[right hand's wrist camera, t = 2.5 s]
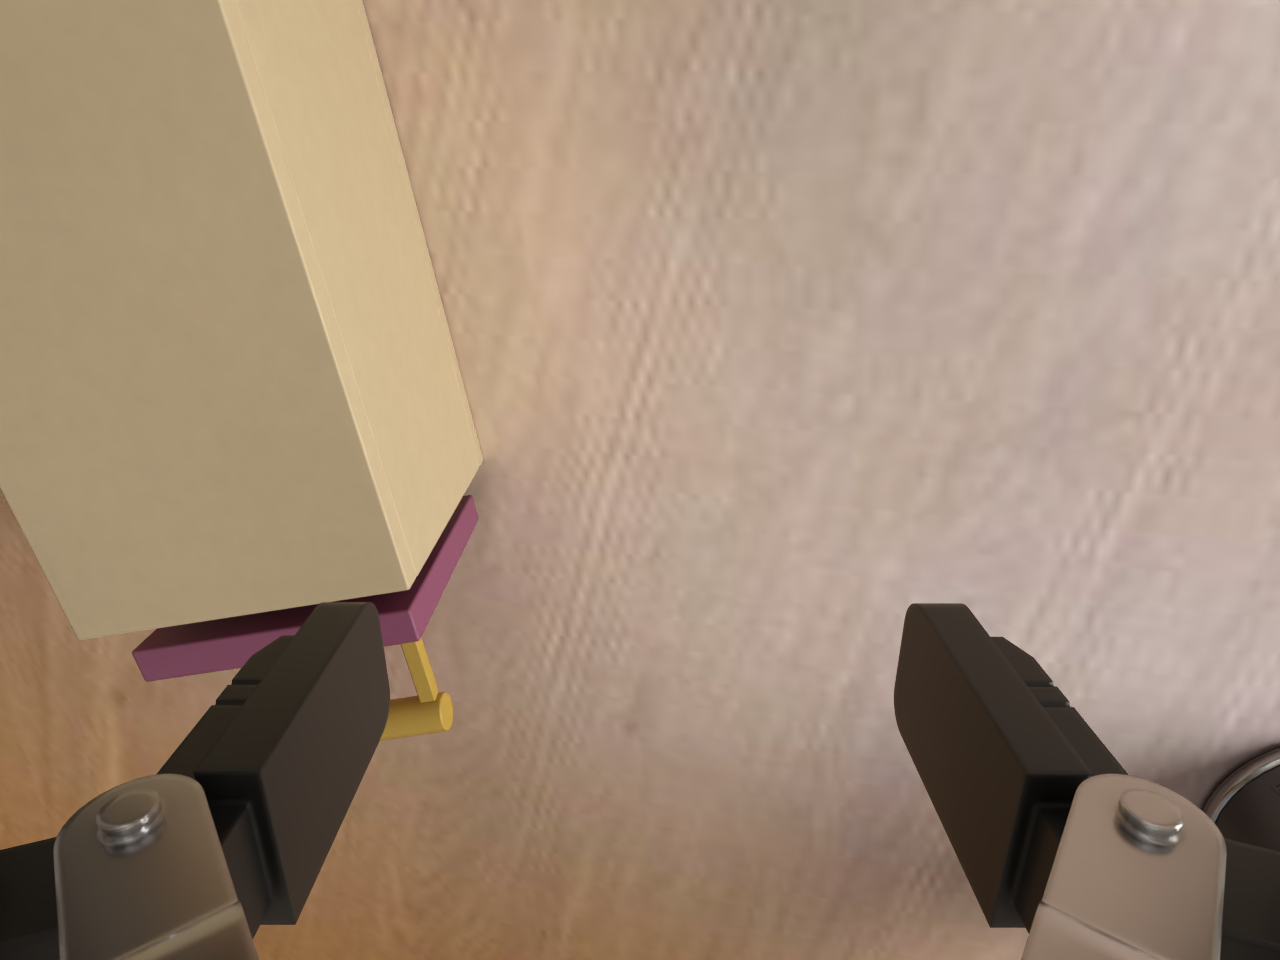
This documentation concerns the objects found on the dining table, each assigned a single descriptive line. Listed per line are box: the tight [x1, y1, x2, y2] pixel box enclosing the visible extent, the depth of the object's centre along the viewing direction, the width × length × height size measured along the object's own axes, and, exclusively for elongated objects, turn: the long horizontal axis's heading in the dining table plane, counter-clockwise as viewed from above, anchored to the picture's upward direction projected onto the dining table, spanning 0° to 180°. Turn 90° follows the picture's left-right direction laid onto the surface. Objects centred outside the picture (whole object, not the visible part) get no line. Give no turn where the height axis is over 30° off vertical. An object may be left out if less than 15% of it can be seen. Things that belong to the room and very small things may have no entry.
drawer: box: [132, 495, 478, 740], centre depth 26 cm, size 26×9×9 cm, turn 10°
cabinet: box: [0, 0, 483, 640], centre depth 24 cm, size 21×10×11 cm, turn 10°
